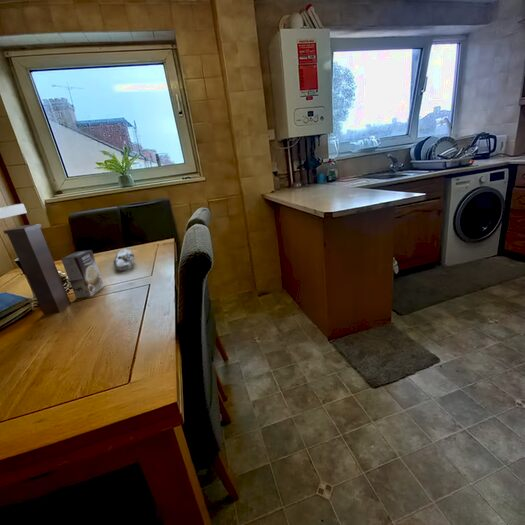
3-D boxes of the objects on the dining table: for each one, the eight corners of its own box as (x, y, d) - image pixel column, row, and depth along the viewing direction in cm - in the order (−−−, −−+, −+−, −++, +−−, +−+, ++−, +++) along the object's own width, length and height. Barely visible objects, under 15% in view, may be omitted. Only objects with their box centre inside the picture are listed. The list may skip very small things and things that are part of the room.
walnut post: (41, 314, 96) (3, 230, 86) (55, 305, 102) (21, 225, 92) (60, 312, 96) (24, 228, 85) (72, 303, 102) (40, 223, 92)
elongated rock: (135, 253, 161) (116, 258, 157) (132, 245, 159) (113, 250, 156) (137, 267, 130) (115, 274, 127) (134, 256, 129) (110, 263, 125)
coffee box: (91, 297, 106) (76, 257, 100) (75, 298, 106) (59, 259, 100) (105, 286, 114) (92, 249, 109) (90, 287, 115) (76, 251, 109)
